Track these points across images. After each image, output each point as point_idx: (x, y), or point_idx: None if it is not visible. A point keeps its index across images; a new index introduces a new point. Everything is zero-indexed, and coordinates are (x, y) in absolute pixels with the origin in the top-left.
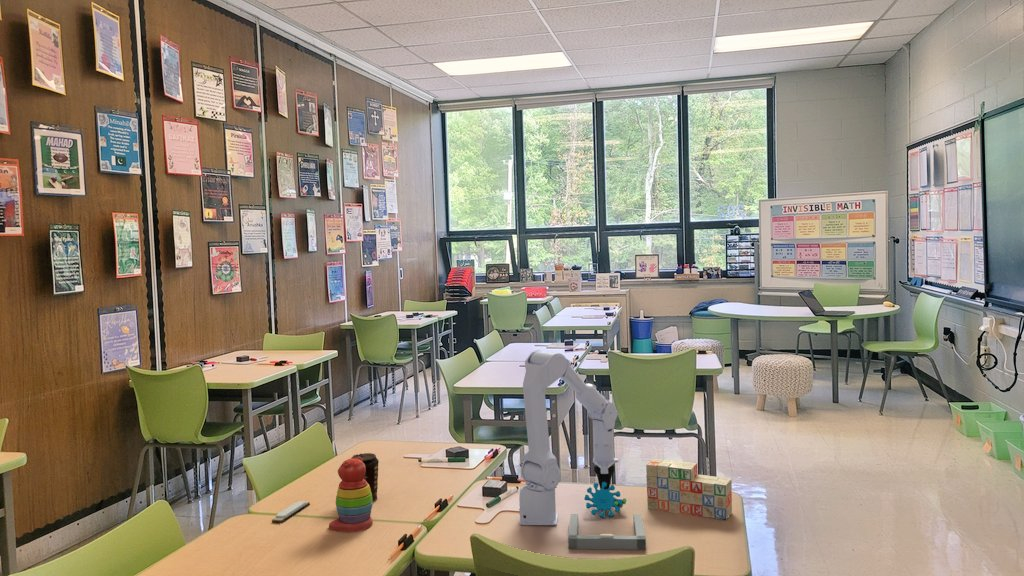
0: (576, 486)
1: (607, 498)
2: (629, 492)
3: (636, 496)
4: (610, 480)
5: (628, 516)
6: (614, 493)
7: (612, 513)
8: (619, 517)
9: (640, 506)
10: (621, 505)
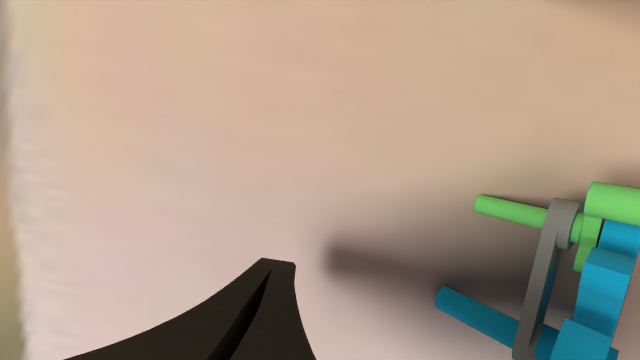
0: (67, 350)
1: (608, 352)
2: (141, 69)
3: (225, 29)
4: (299, 321)
5: (623, 160)
6: (616, 316)
7: (631, 275)
8: None
9: (444, 35)
10: (580, 212)
